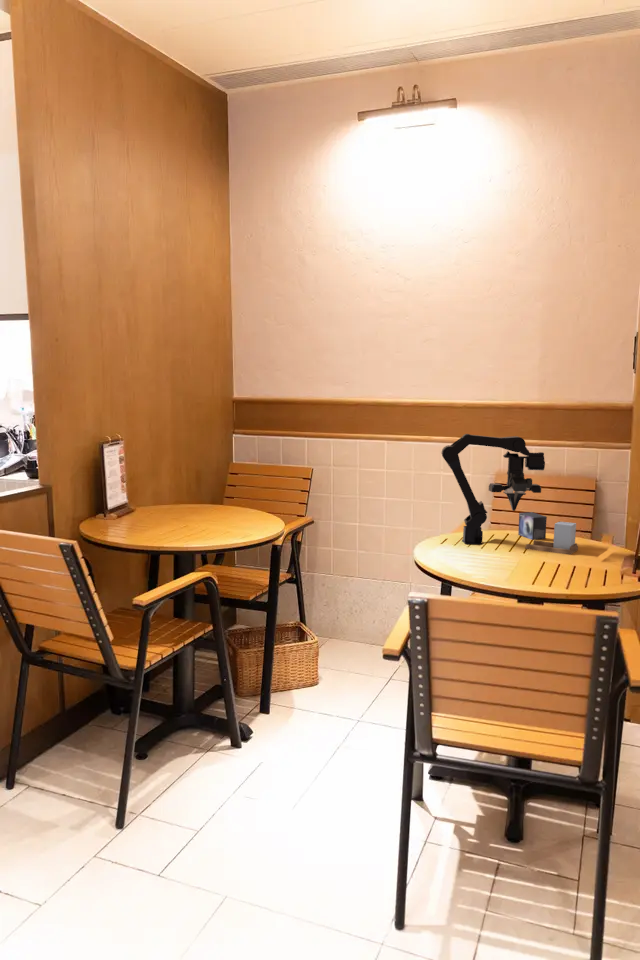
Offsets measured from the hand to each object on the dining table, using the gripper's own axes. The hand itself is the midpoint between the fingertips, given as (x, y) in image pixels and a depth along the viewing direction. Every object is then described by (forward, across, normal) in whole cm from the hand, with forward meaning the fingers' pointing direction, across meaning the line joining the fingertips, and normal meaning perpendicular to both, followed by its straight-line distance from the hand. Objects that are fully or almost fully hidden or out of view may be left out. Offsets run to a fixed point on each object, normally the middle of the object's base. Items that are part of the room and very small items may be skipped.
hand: (513, 510), depth 294 cm
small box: (+13, +10, +8) cm, 19 cm away
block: (+12, +14, -18) cm, 25 cm away
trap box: (+13, +10, -15) cm, 23 cm away
